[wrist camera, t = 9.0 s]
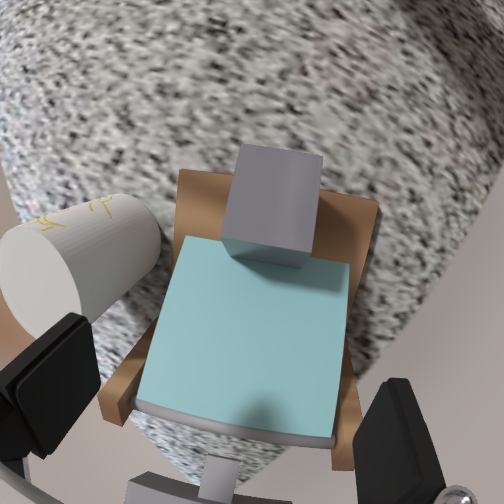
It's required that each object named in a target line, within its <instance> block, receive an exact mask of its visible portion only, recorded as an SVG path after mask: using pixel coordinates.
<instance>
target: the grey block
mask: <svg viewBox="0 0 504 504" xmlns="http://www.w3.org/2000/svg"><path fill="white" fill-rule="evenodd" d="M322 164H323V156H318V155H313V154H307V153H301V152H295V151H289V150H283V149H277V148H270V147H263V146H256V145H249V144H241V147H240V151H239V155H238V159H237V163H236V167H235V171H234V176H233V180H232V184H231V188H230V193H229V197H228V201H227V206H226V210H225V214H224V219H223V223H222V228H221V232H220V239H221V241H222V243H223V245H224V247H225V249H226V251H227V253H228V255H229V256H230V257H235V258H241V259H246V260H252V261H258V262H263V263H269V264H275V265H280V266H286V267H292V268H298V269H301V268H302V267H303V265H304V263H305V262H306V260H307V259H308V257H309V256H310V254H311V252H312V245H313V237H314V230H315V223H316V215H317V207H318V199H319V191H320V182H321V173H322Z"/></svg>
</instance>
